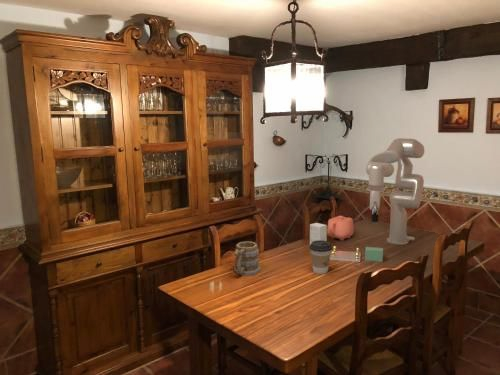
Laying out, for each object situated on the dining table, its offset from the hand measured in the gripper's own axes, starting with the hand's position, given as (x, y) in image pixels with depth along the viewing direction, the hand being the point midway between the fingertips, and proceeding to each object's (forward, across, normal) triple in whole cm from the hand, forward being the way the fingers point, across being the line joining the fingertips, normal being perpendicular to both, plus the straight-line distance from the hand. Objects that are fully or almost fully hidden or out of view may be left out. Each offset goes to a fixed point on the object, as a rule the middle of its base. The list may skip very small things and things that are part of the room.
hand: (374, 219), depth 224 cm
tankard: (+23, +36, -62) cm, 75 cm away
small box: (+23, -16, -32) cm, 42 cm away
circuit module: (+22, 0, 0) cm, 23 cm away
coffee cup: (+22, +24, -26) cm, 42 cm away
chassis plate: (+22, 0, -15) cm, 27 cm away
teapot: (+23, -35, -20) cm, 46 cm away
